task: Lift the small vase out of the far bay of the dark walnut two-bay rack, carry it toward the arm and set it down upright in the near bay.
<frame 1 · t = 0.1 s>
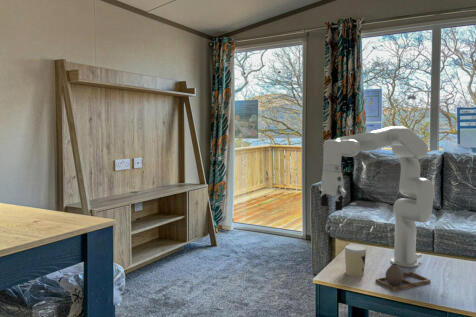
hand: (331, 208, 166), 31 cm above the table, tool pointing down, fingers open, 9 cm apart
vase: (394, 285, 162), resting in rack
coffee cup: (354, 273, 175), on the table
rack: (402, 282, 164), on the table
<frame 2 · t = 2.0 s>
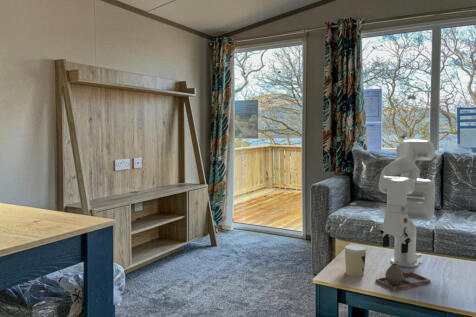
hand: (395, 249, 160), 15 cm above the table, tool pointing down, fingers open, 9 cm apart
nothing on the table moved.
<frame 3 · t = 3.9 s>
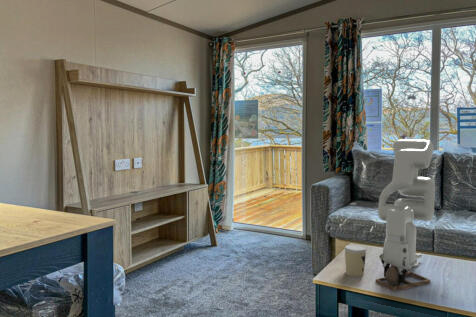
hand: (394, 279, 162), 2 cm above the table, tool pointing down, fingers closed on vase, 6 cm apart
vase: (394, 285, 162), resting in rack, touching gripper
everything else where it was.
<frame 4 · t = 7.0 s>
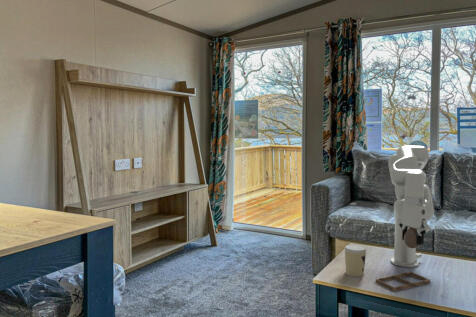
hand: (412, 241, 165), 17 cm above the table, tool pointing down, fingers closed on vase, 6 cm apart
vase: (412, 247, 165), point 15 cm above the table, touching gripper
everything else where it was.
when the fingers open (4 cm above the table, at t = 10.2 s): vase drops 2 cm, resting in rack.
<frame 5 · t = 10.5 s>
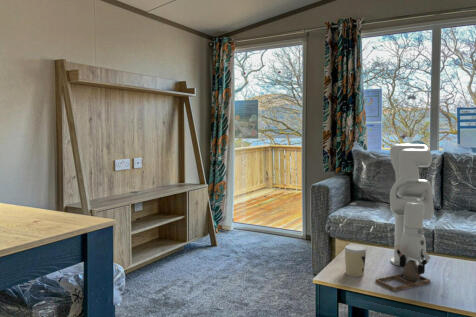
hand: (411, 270, 166), 5 cm above the table, tool pointing down, fingers open, 9 cm apart
vase: (411, 281, 166), resting in rack
everything else where it was.
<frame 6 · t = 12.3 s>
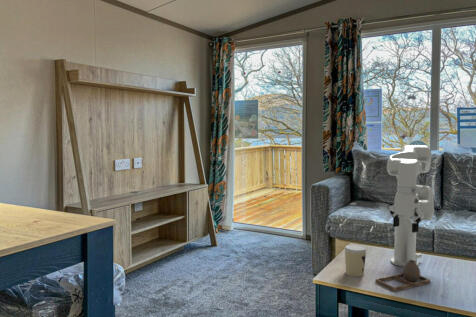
hand: (405, 229, 167), 22 cm above the table, tool pointing down, fingers open, 9 cm apart
nothing on the table moved.
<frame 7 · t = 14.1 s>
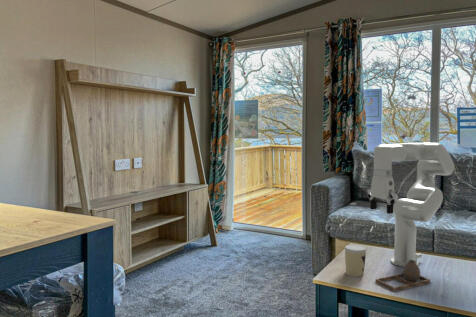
hand: (381, 211, 173), 28 cm above the table, tool pointing down, fingers open, 9 cm apart
nothing on the table moved.
at the end: vase inside the target area on the rack (0.1 cm from its centre), point 0.0 cm above the rack's base; vase tilted 0°; the gripper is holding nothing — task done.
